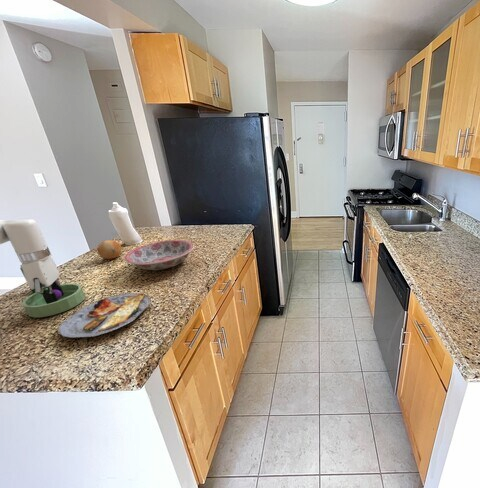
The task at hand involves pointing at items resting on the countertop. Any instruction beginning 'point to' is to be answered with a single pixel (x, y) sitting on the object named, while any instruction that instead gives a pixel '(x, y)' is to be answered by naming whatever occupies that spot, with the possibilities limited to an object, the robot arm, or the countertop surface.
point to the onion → (109, 249)
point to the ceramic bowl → (160, 254)
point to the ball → (57, 293)
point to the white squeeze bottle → (123, 225)
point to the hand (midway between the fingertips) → (55, 298)
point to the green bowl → (40, 308)
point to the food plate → (104, 315)
